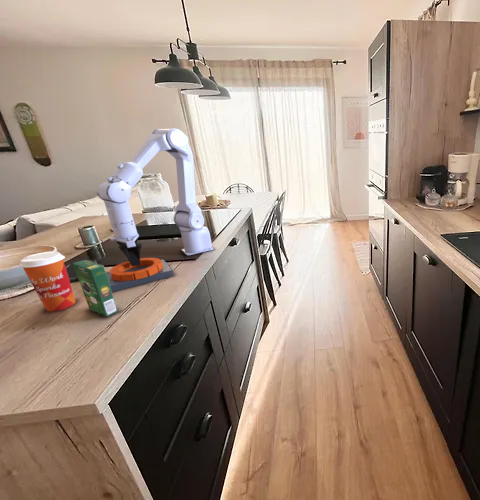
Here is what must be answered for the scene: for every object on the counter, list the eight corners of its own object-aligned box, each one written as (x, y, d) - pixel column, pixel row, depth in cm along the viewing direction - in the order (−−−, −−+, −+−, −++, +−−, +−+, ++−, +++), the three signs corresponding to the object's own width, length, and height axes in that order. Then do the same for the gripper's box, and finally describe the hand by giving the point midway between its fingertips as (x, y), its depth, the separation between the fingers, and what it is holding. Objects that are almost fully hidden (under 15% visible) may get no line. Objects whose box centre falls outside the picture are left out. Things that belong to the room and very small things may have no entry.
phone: (46, 281, 85) (68, 263, 98) (48, 285, 85) (69, 266, 98) (80, 276, 88) (97, 259, 101) (81, 280, 88) (98, 262, 101)
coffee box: (120, 311, 72) (104, 264, 67) (107, 317, 70) (89, 268, 65) (102, 304, 75) (85, 258, 71) (89, 310, 73) (71, 262, 68)
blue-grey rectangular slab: (164, 264, 100) (163, 259, 99) (173, 275, 91) (172, 270, 91) (106, 278, 90) (104, 272, 89) (110, 292, 81) (107, 286, 81)
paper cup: (34, 317, 70) (10, 264, 65) (47, 302, 76) (26, 253, 71) (76, 308, 73) (56, 258, 68) (85, 295, 80) (67, 248, 75)
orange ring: (157, 260, 98) (156, 254, 98) (166, 271, 89) (165, 266, 89) (110, 271, 90) (108, 265, 89) (114, 285, 81) (112, 279, 80)
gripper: (103, 219, 91) (116, 259, 95) (108, 229, 81) (122, 273, 86) (131, 216, 95) (141, 254, 100) (138, 224, 85) (149, 266, 90)
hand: (134, 262), depth 93 cm, fingers open, 5 cm apart
